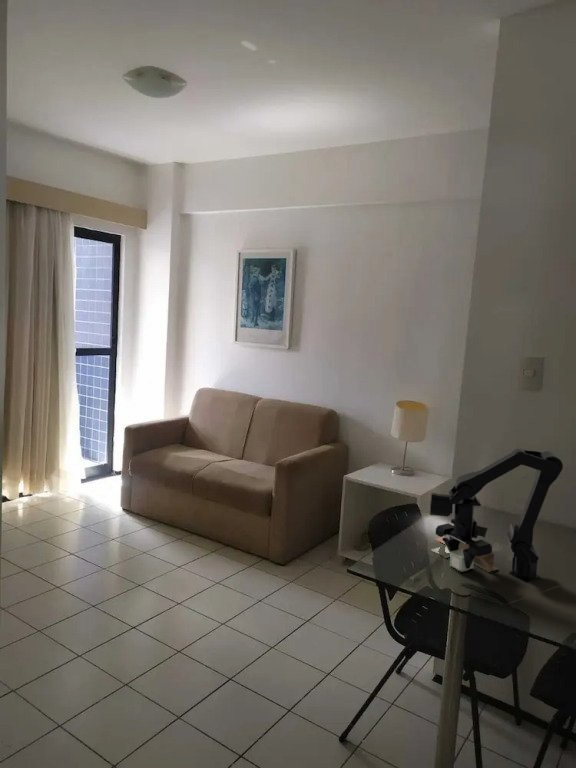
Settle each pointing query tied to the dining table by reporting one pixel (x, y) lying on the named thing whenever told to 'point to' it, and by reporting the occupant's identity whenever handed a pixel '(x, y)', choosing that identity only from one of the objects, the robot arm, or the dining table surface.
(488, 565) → the walnut screen
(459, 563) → the sage block
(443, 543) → the terracotta pad
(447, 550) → the sage pad
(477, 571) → the dining table surface
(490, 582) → the dining table surface
